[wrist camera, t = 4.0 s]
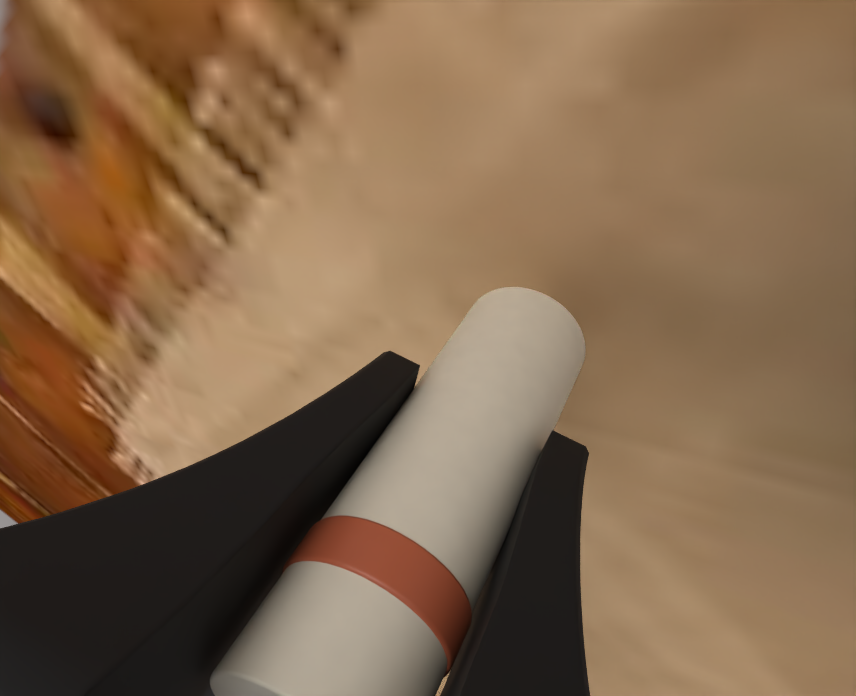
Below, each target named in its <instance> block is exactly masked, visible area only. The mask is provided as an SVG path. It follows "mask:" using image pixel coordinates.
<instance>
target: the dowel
mask: <svg viewBox="0 0 856 696" xmlns="http://www.w3.org/2000/svg"><path fill="white" fill-rule="evenodd" d="M585 352H586V347H585V340H584V336H583V333H582V331H581V328H580V326H579V324H578V323H577V321H576V320H575V318H574V317H573V316H572V314H571V313H570V312H569V311H568V310H567V309H566V308H565V307H564V306H563V305H561V304H560V303H559V302H557V301H556V300H554V299H553V298H551V297H549V296H547V295H546V294H544V293H541V292H538V291H536V290H532V289H529V288H523V287H503V288H499V289H495V290H492V291H490V292H488V293H486V294H484V295H483V296H482V297H480V298H479V299H478V300H477V301H476V302H475V303H474V305H473V306H472V307H471V309H470V310H469V312H468V313H467V314H466V316H465V317H464V319H463V320H462V322H461V323H460V324H459V326H458V327H457V329H456V330H455V331H454V333H453V334H452V336H451V337H450V338H449V340H448V341H447V343H446V344H445V345H444V347H443V348H442V350H441V351H440V353H439V354H438V355H437V357H436V358H435V360H434V361H433V362H432V364H431V365H430V367H429V368H428V369H427V371H426V372H425V374H424V375H423V376H422V378H421V379H420V381H419V382H418V384H417V385H416V386H415V388H414V389H413V391H412V392H411V394H410V395H409V397H408V398H407V399H406V401H405V402H404V404H403V405H402V406H401V408H400V409H399V411H398V412H397V413H396V415H395V416H394V418H393V419H392V420H391V422H390V423H389V425H388V426H387V427H386V429H385V430H384V431H383V433H382V434H381V436H380V437H379V438H378V440H377V441H376V443H375V444H374V445H373V447H372V448H371V450H370V451H369V453H368V454H367V455H366V457H365V458H364V460H363V461H362V462H361V464H360V465H359V467H358V468H357V469H356V471H355V472H354V474H353V475H352V476H351V478H350V479H349V481H348V482H347V484H346V485H345V486H344V488H343V489H342V491H341V492H340V493H339V495H338V496H337V498H336V499H335V500H334V502H333V503H332V505H331V506H330V507H329V509H328V510H327V512H326V513H325V515H324V516H323V517H322V519H321V520H320V521H318V522H316V523H315V524H314V525H313V526H312V527H311V528H310V530H309V531H308V533H307V534H306V535H305V537H304V538H303V539H302V541H301V542H300V544H299V545H298V546H297V548H296V549H295V551H294V552H293V553H292V555H291V556H290V558H289V559H288V560H287V562H286V563H285V565H284V567H283V571H282V575H281V576H280V578H279V579H278V581H277V582H276V584H275V585H274V586H273V588H272V589H271V591H270V592H269V593H268V595H267V596H266V598H265V599H264V600H263V602H262V603H261V605H260V606H259V607H258V609H257V610H256V612H255V613H254V615H253V616H252V617H251V619H250V620H249V622H248V623H247V624H246V626H245V627H244V629H243V630H242V631H241V633H240V634H239V636H238V637H237V638H236V640H235V641H234V643H233V644H232V646H231V647H230V648H229V650H228V651H227V653H226V654H225V655H224V657H223V658H222V660H221V661H220V662H219V664H218V665H217V667H216V668H215V669H214V671H213V672H212V674H211V677H210V686H211V689H212V691H213V693H214V695H215V696H435V695H436V693H437V690H438V688H439V686H440V684H441V681H442V679H443V678H444V677H445V676H446V675H447V674H448V673H449V672H450V670H451V668H452V666H453V664H454V661H455V659H456V657H457V655H458V652H459V650H460V648H461V646H462V643H463V641H464V639H465V636H466V634H467V632H468V630H469V627H470V625H471V619H472V612H473V610H474V607H475V605H476V603H477V601H478V598H479V596H480V594H481V592H482V589H483V587H484V585H485V583H486V580H487V578H488V576H489V574H490V571H491V569H492V567H493V565H494V562H495V560H496V558H497V556H498V554H499V551H500V549H501V547H502V545H503V542H504V540H505V538H506V535H507V533H508V531H509V528H510V525H511V523H512V520H513V517H514V515H515V512H516V509H517V506H518V504H519V501H520V498H521V495H522V493H523V491H524V488H525V486H526V484H527V482H528V479H529V477H530V475H531V473H532V471H533V468H534V466H535V464H536V462H537V459H538V457H539V455H540V453H541V451H542V449H543V447H544V445H545V443H546V441H547V439H548V437H549V435H550V433H551V432H552V430H554V428H555V426H556V423H557V421H558V419H559V417H560V414H561V412H562V410H563V408H564V405H565V403H566V401H567V399H568V396H569V394H570V392H571V390H572V387H573V385H574V383H575V381H576V379H577V376H578V374H579V372H580V370H581V367H582V365H583V362H584V359H585Z"/></svg>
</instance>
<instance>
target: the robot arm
mask: <svg viewBox="0 0 856 696" xmlns="http://www.w3.org/2000/svg"><path fill="white" fill-rule="evenodd" d="M419 367H420V365H418V364H416V363H414V362H412V361H410V360H408V359H406V358H404V357H402V356H400V355H398V354H396V353H394V352H391V351H388V352H384V353H383V354H381V355H380V356H379V357H377V358H376V359H375V360H373V361H372V362H371V363H369V364H368V365H366V366H365V367H364V368H362V369H361V370H359V371H358V372H357V373H355V374H354V375H352V376H351V377H349V378H348V379H346V380H345V381H343V382H342V383H340V384H339V385H337V386H336V387H334V388H333V389H331V390H330V391H328V392H327V393H325V394H324V395H322V396H320V397H319V398H317V399H315V400H314V401H312V402H311V403H309V404H307V405H306V406H304V407H302V408H301V409H299V410H298V411H296V412H294V413H293V414H291V415H289V416H287V417H286V418H284V419H282V420H280V421H278V422H277V423H275V424H273V425H271V426H269V427H267V428H266V429H264V430H262V431H260V432H258V433H256V434H255V435H253V436H251V437H249V438H247V439H245V440H243V441H241V442H239V443H237V444H235V445H233V446H231V447H229V448H227V449H225V450H223V451H221V452H219V453H217V454H215V455H212V456H210V457H208V458H206V459H204V460H201V461H199V462H197V463H195V464H193V465H190V466H188V467H186V468H183V469H181V470H178V471H176V472H173V473H171V474H168V475H166V476H163V477H161V478H158V479H156V480H153V481H151V482H148V483H146V484H143V485H140V486H138V487H135V488H132V489H130V490H127V491H124V492H121V493H118V494H115V495H112V496H109V497H106V498H103V499H100V500H97V501H94V502H91V503H88V504H85V505H81V506H78V507H75V508H72V509H69V510H66V511H63V512H60V513H56V514H53V515H50V516H46V517H43V518H39V519H35V520H31V521H27V522H24V523H20V524H16V525H13V526H9V527H4V528H1V529H0V696H215V695H214V693H213V691H212V689H211V686H210V677H211V674H212V672H213V671H214V669H215V668H216V667H217V665H218V664H219V662H220V661H221V660H222V658H223V657H224V655H225V654H226V653H227V651H228V650H229V648H230V647H231V646H232V644H233V643H234V641H235V640H236V638H237V637H238V636H239V634H240V633H241V631H242V630H243V629H244V627H245V626H246V624H247V623H248V622H249V620H250V619H251V617H252V616H253V615H254V613H255V612H256V610H257V609H258V607H259V606H260V605H261V603H262V602H263V600H264V599H265V598H266V596H267V595H268V593H269V592H270V591H271V589H272V588H273V586H274V585H275V584H276V582H277V581H278V579H279V578H280V576H281V575H282V571H283V567H284V565H285V563H286V562H287V560H288V559H289V558H290V556H291V555H292V553H293V552H294V551H295V549H296V548H297V546H298V545H299V544H300V542H301V541H302V539H303V538H304V537H305V535H306V534H307V533H308V531H309V530H310V528H311V527H312V526H313V525H314V524H315V523H316V522H318V521H320V520H321V519H322V517H323V516H324V515H325V513H326V512H327V510H328V509H329V507H330V506H331V505H332V503H333V502H334V500H335V499H336V498H337V496H338V495H339V493H340V492H341V491H342V489H343V488H344V486H345V485H346V484H347V482H348V481H349V479H350V478H351V476H352V475H353V474H354V472H355V471H356V469H357V468H358V467H359V465H360V464H361V462H362V461H363V460H364V458H365V457H366V455H367V454H368V453H369V451H370V450H371V448H372V447H373V445H374V444H375V443H376V441H377V440H378V438H379V437H380V436H381V434H382V433H383V431H384V430H385V429H386V427H387V426H388V425H389V423H390V422H391V420H392V419H393V418H394V416H395V415H396V413H397V412H398V411H399V409H400V408H401V406H402V405H403V404H404V402H405V401H406V399H407V398H408V397H409V395H410V394H411V392H412V391H413V389H414V386H415V383H416V379H417V375H418V371H419ZM588 456H589V452H588V450H587V448H586V446H584V445H582V444H580V443H578V442H576V441H573V440H571V439H569V438H567V437H565V436H563V435H561V434H559V433H557V432H555V431H553V430H552V432H551V433H550V435H549V437H548V439H547V441H546V443H545V445H544V447H543V449H542V451H541V453H540V455H539V457H538V459H537V462H536V464H535V466H534V468H533V471H532V473H531V475H530V477H529V479H528V482H527V484H526V486H525V488H524V491H523V493H522V495H521V498H520V501H519V504H518V506H517V509H516V512H515V515H514V517H513V520H512V523H511V525H510V528H509V531H508V533H507V535H506V538H505V540H504V542H503V545H502V547H501V549H500V551H499V554H498V556H497V558H496V560H495V562H494V565H493V567H492V569H491V571H490V574H489V576H488V578H487V580H486V583H485V585H484V587H483V589H482V592H481V594H480V596H479V598H478V601H477V603H476V605H475V607H474V610H473V612H472V619H471V625H470V627H469V630H468V632H467V634H466V636H465V639H464V641H463V643H462V646H461V648H460V650H459V652H458V655H457V657H456V659H455V661H454V664H453V666H452V669H451V671H450V674H449V676H448V679H447V681H446V684H445V686H444V688H443V691H442V693H441V695H440V696H590V692H589V684H588V676H587V668H586V659H585V649H584V637H583V625H582V608H581V586H580V526H581V508H582V495H583V485H584V477H585V471H586V465H587V460H588Z"/></svg>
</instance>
